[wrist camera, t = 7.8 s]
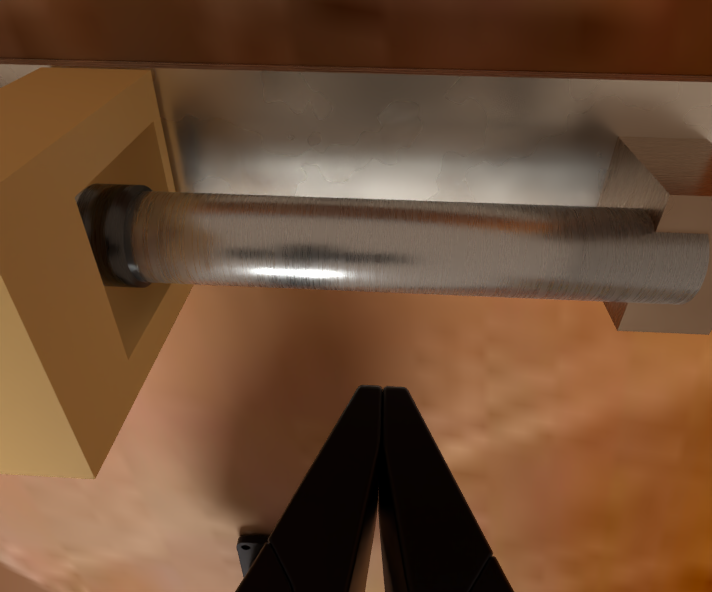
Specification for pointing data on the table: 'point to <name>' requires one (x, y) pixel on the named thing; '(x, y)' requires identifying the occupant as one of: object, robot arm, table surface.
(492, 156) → the grey piece
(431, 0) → the table surface
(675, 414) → the table surface
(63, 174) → the tan wooden block
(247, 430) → the table surface
